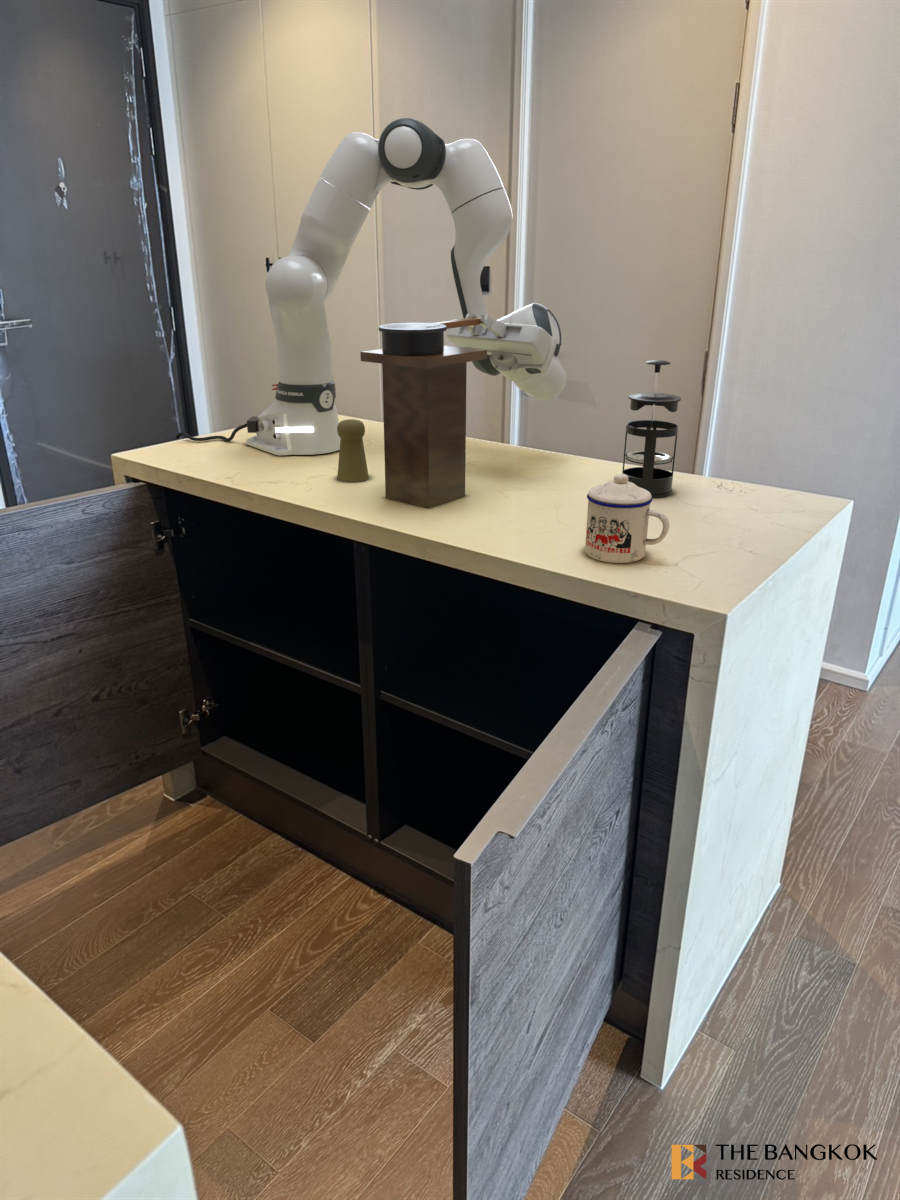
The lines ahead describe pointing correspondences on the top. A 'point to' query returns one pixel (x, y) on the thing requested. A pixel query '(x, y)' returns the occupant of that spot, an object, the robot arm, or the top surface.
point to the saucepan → (418, 337)
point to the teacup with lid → (620, 521)
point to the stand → (425, 424)
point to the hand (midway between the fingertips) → (475, 318)
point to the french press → (652, 441)
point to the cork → (352, 452)
